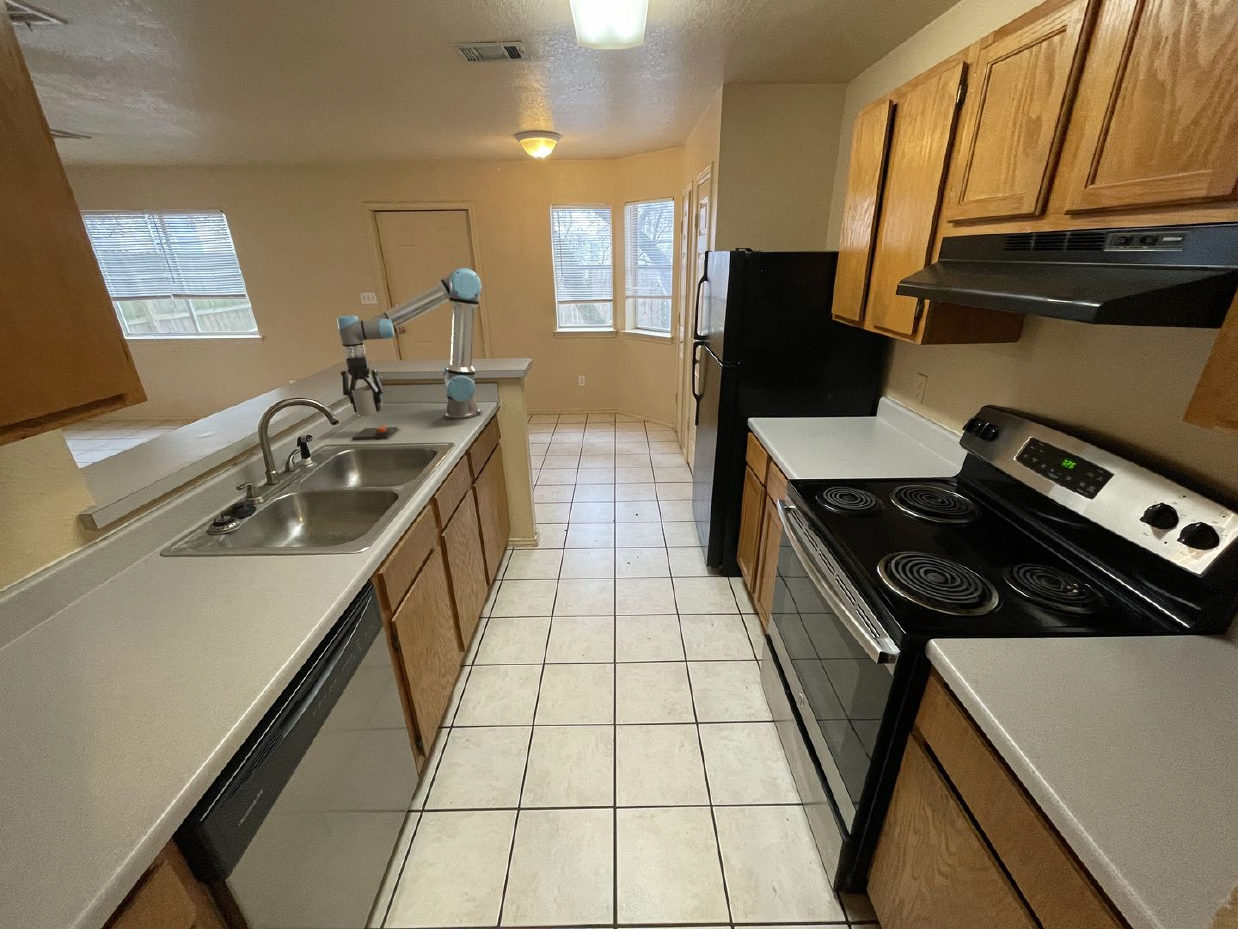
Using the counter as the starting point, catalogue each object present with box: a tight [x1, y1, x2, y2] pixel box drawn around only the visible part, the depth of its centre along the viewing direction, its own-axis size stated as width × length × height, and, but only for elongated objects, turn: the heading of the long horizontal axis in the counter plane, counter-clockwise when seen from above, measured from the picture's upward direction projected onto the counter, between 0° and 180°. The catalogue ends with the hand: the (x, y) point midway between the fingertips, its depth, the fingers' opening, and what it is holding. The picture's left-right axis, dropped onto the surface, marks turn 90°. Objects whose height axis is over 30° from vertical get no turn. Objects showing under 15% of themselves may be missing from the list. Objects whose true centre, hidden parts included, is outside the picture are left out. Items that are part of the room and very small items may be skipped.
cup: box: [352, 386, 380, 417], centre depth 209 cm, size 8×8×10 cm
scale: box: [352, 426, 399, 441], centre depth 213 cm, size 14×12×3 cm
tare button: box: [377, 426, 387, 432], centre depth 209 cm, size 3×3×2 cm
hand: (368, 410), depth 210 cm, fingers closed on cup, 8 cm apart
